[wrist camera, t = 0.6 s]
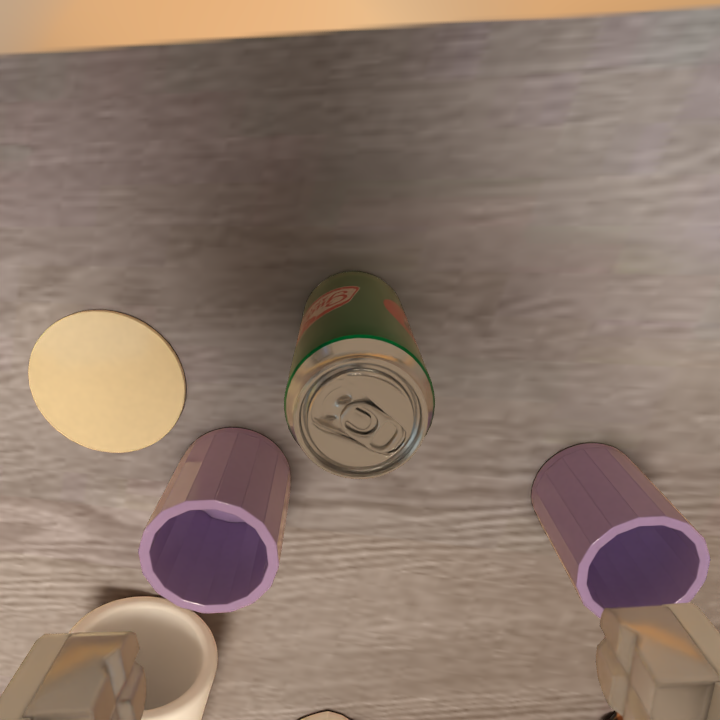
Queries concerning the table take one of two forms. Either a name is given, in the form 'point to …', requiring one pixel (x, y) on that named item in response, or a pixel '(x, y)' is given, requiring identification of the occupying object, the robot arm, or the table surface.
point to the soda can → (357, 380)
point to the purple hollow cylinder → (617, 531)
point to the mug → (163, 652)
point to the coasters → (107, 381)
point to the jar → (325, 716)
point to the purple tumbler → (219, 523)
